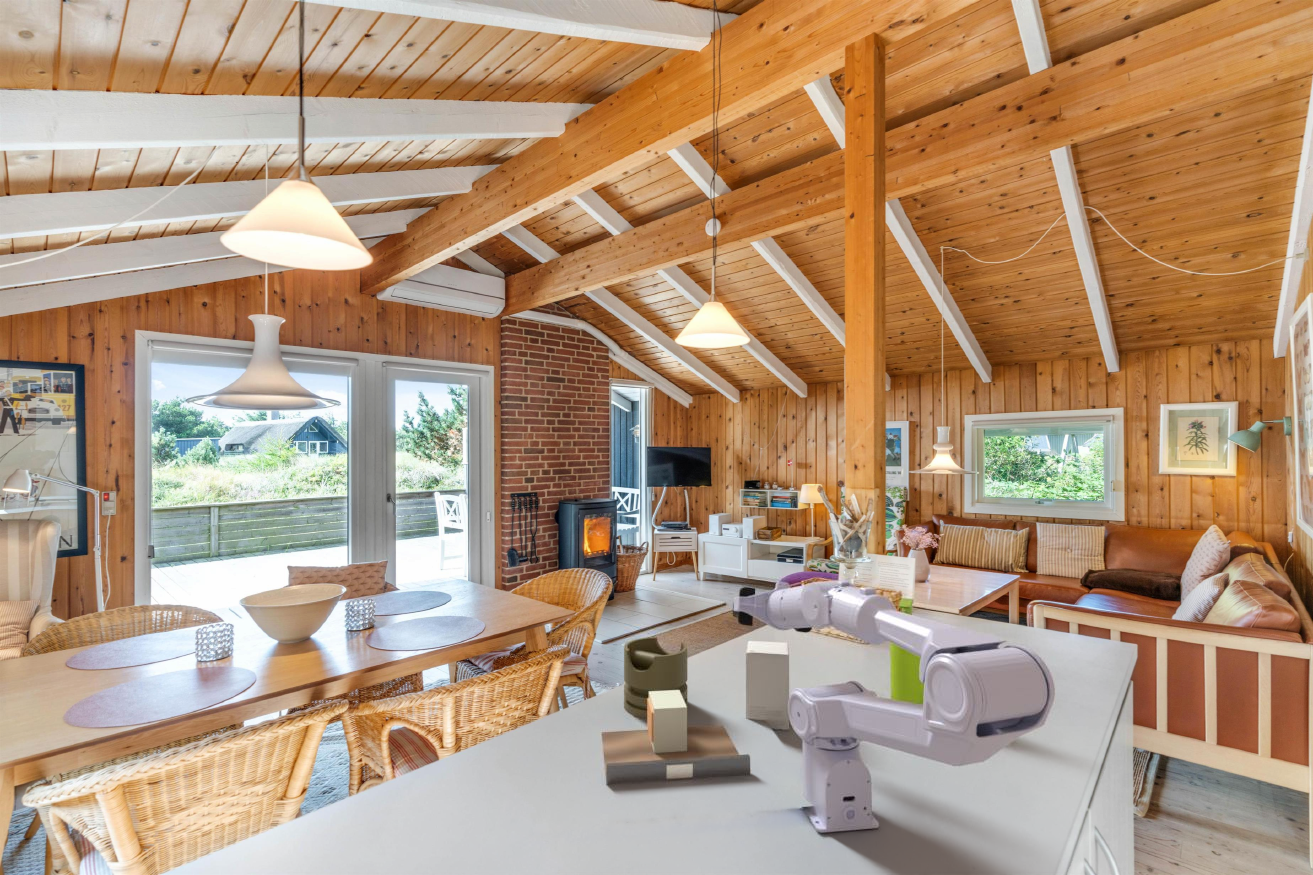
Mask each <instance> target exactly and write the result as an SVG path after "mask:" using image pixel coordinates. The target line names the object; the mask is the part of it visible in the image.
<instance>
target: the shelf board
mask: <svg viewBox="0 0 1313 875" xmlns="http://www.w3.org/2000/svg"><path fill="white" fill-rule="evenodd" d="M601 740H602V752H603V761H604V772H605V775H606V764H607V763H623V762H638V761H654V760H669V759H685V758H701V757H716V756H732V755H740V753H739V752H738V749H737V748H736V746H735V744H734V743H733V741H732V739H731V736H730V735H729V733H728V731H727V730H726V728H725V725H721V724H720V725H707V726H706V725H705V726H691V727H690V726H689V727H688V726H687V751H678V752H662V753H654V751H653V747H652V743H651V739H650V735H649V731H648V729H634V730H621V731H620V730H618V731H603V732H601ZM738 776H739V777H740V776H744V775H738ZM738 776H737V777H738ZM728 777H729V776H723V777H722V778H728ZM712 778H713V779H714V778H715V777H708V778H707V779H712ZM695 779H696V780H698V779H700V778H694V779H693V780H695ZM683 780H686V779H679V780H678V781H683ZM665 781H671V780H665ZM665 781H664V782H665ZM653 782H654V783H655V782H657V781H650V782H649V783H653ZM637 783H642V782H636V783H635V784H637ZM623 784H628V783H621V784H620V785H623ZM605 785H606V786H608V785H609V786H612V785H613V784H605Z"/></svg>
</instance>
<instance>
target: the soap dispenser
mask: <svg viewBox="0 0 1313 875" xmlns="http://www.w3.org/2000/svg"><path fill="white" fill-rule="evenodd" d="M913 604H914V598H905V597H902V598H901V599H900V601H899V605H898V608H900V609H901V610H902V611H901V612H902V613H906V614H910V615H913ZM889 644H890V648H889V649H890V650H889V651H890V652H889V654H890V657H889V658H890V661H889V662H890V699H893V700H899V701H905V702H911V703H917V704H923V700H924V684H925V683H922V682H921V681H920V678H919V667H920V660H921V658H920V657H918V656H916V655H914V654H912V653H910V652H908V651H907V650H905V649H903V648H901V647H899V646H897V645H895V644H893V643H891V642H889Z"/></svg>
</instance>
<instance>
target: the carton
mask: <svg viewBox="0 0 1313 875" xmlns="http://www.w3.org/2000/svg"><path fill="white" fill-rule="evenodd" d="M646 720H647V721H646V723H647V730H648V731H649V735H650V739H651V743H652V747H653V751H654V753H662V752H678V751H687V727H688V707H687V706H686V704H685V702H684V699H683V697H682V695H681V693H680V690H667V691H649V698H647V719H646Z"/></svg>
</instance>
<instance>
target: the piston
mask: <svg viewBox="0 0 1313 875" xmlns="http://www.w3.org/2000/svg"><path fill="white" fill-rule="evenodd" d="M623 658H624V659H623V681H624V683H625V684H624V685H623V708H624V711H625V712H627V713H628V714H629V715H631V716H633V717H637V718H641V719H644V720H645V719H646V720H647V698H649V691H667V690H680V693H681V695H682V697H683V699H684V702H685V704H686V706H687V708H688V702H689V701H688V684H687V682H688V644H687V643H685V642H684V641H683V642H680V649H679V651H677V652H675V653H670V652H668V651H667V650H665V649H664V648H662V646H661V645H660V643H659V641H658V637H657V636H650V637H649V636H647V637H640V638H635V639H632V640H630V641H627V642H625V644H624V645H623Z"/></svg>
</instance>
